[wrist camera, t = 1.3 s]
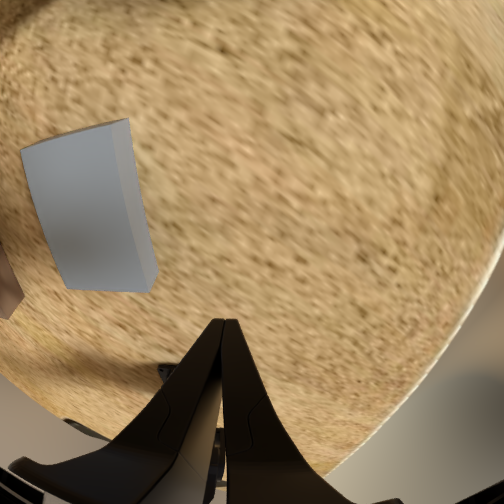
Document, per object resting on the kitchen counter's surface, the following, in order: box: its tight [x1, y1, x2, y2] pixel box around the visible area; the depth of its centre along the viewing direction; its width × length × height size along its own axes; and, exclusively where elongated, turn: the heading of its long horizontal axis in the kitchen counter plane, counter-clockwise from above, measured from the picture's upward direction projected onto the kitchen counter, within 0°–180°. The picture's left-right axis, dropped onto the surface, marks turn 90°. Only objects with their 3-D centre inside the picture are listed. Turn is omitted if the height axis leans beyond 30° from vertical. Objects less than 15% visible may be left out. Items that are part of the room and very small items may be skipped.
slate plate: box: [20, 118, 159, 293], centre depth 18 cm, size 12×8×3 cm, turn 2°
